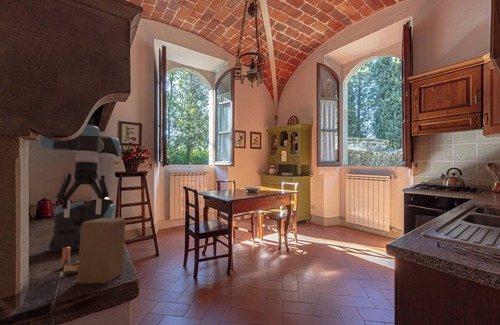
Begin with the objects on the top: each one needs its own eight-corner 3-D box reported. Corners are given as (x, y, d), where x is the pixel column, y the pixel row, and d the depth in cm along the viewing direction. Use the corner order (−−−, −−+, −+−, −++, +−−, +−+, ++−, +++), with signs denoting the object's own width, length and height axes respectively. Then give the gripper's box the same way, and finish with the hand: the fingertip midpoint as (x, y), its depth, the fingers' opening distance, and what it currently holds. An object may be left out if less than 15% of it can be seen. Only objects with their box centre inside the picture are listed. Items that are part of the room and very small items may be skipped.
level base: (62, 272, 84) (63, 265, 84) (92, 268, 88) (92, 261, 89) (56, 281, 76) (57, 273, 76) (89, 275, 81) (89, 268, 81)
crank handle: (52, 268, 84) (54, 249, 85) (74, 263, 90) (76, 245, 91) (68, 275, 78) (70, 254, 78) (91, 269, 84) (92, 249, 84)
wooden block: (123, 274, 82) (126, 217, 84) (107, 286, 72) (110, 221, 74) (95, 274, 82) (99, 218, 84) (75, 286, 72) (79, 222, 74)
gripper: (110, 164, 107) (107, 212, 105) (48, 160, 87) (42, 218, 85) (119, 164, 103) (116, 213, 101) (56, 158, 83) (51, 219, 81)
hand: (83, 215), depth 93 cm, fingers open, 11 cm apart
